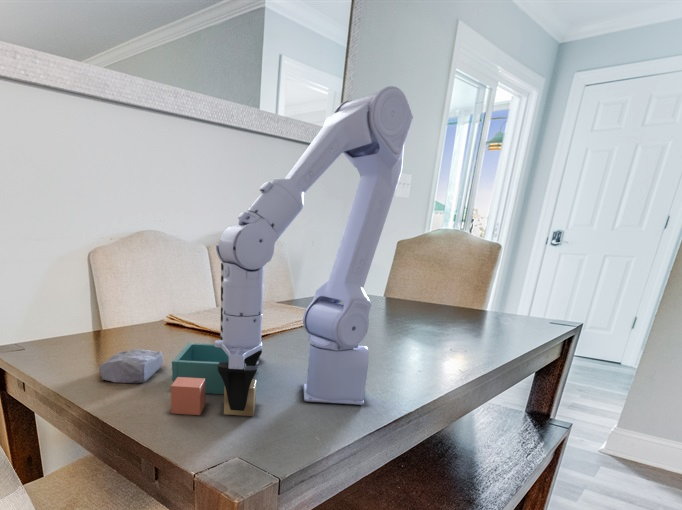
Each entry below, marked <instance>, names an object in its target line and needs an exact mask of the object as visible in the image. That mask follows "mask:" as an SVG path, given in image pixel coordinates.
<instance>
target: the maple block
mask: <svg viewBox="0 0 682 510" xmlns="http://www.w3.org/2000/svg"><path fill="white" fill-rule="evenodd" d="M256 401H257V379H256V378H253V379H252V381H251V384H250V387H249V392H248V398H247V403H246V406H245V409H244V411H238V410H230V407H229V402H228V397H227V392H226V388H225V387H224V394H223V415H230V416H243V417H254V414H255V409H256V403H257V402H256Z"/></svg>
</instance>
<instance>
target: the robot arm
mask: <svg viewBox="0 0 682 510" xmlns="http://www.w3.org/2000/svg"><path fill="white" fill-rule="evenodd" d="M413 119H414V115H413V113H412V109H411V107H410V104H409V101H408V99H407V96H406V95H405V93H404V91H402V89H401V88H399V87H397V86H393V85H391V86H390V85H388V86H385V87H383V88H382V89H379V90H378V91H376V92H373V93H370V94H367V95H364V96H362V97H358V98H354V99H351V100H350V99H349V100H345V101H343V102H341V103H340V104H339V105H338V106H337V107H336V108H335V109H334V111H333V113H330V114H329V116H328V117H326V118H325V119H324V123H323V125H322V127H321V129H320V130H319V131H318V133H317V134H316V136H315V137H314V138H313V140H312V141H311V142H310V143H309V145H308V146H307V148H306V149H305V150H304V152H302V154H301V156H300V157H299V158H298V160H297V161H296V163H295V164H293V167H292V168H291V170H289V172H288V173H287V175H286V176H285V178H281V177H280V178H279V177H276V178H273V179H271V180H270V181H266V182H263V183H262V185H261V186H260V187H259V191H260V194H259V195H258V197H256V199H255V200H254V201H253V203H252V204H251V205H250V206H249V207H248V208H247V210H245V211H241V212H240V213H239V214H238V216H237V219H238V224H233V225H230V226H229V227H227V228H226V229H225V230H224V231H223V232H222V233H221V235H220V237H219V242H218V244H216V245H215V251H216V255H217V257H218V259H219V261H220V263H223V266H224V272H223V340H220V339H216V340H215V341H214V344H215V347H218V348H222V349H223V350H224V352H225V353H226V354H227V355H228V357H229V363H227V362H219V364H218V372H219V374H220V375H221V377H222V379H223V382H224V384H225V388H226V392H227V397H228V402H229V407H230V410H238V411H244V409H245V406H246V403H247V398H248V392H249V387H250V384H251V381H252V379H254V377H255V375H256V373H257V372H258V369H259V366H258V365H257V364H256V363H257V361H258V359H259V357H260V358H261V355H262V353H263V342H262V329H263V306H264V283H265V266H266V265H267V264H268V263H269V262H270V261H272V259H273V257H274V252H275V244H276V242H277V241H278V240H279V238H280V237H281V236H282V235H283V233H285V231H286V230H287V229H288V227H289V226H290V225H291V224H292V223H293V221H294V220H295V219H296V218H297V217H298V215H300V213H301V212H302V211H303V209H304V205H305V204H304V203H305V201H304V200H305V199H304V195H305V194H306V193H307V191H309V189H310V188H311V187H312V186H313V185H314V184H315V183H316V182H317V181H318V179H320V177H321V176H322V175H323V174H324V173H325V172H326V171H327V170H328V169H329V168H330V167H331V165H332V164H334V162H335V161H336V160H337V159H338V158H339V157H340V156H341V154H343V155H344V156H345V158H346V159H347V160H348V161H349V162H350V163H351V165H353V167H354V168H355V169H356V170H357V172H358V174H359V180H358V184H357V187H356V190H355V193H354V196H353V200H352V203H351V206H350V210H349V213H348V216H347V219H346V223H345V226H344V229H343V232H342V236H341V239H340V242H339V245H338V249H337V252H336V254H335V259H334V261H333V265H332V268H331V271H330V274H329V277H328V279H327V281H326V282H324V283H323V284H322V285H321V286H319V287H318V288H317V289H316V291H315V293H314V295H313V299H312V301H311V302H310V303H309V304H308V306H307V307H306V308H305V311H304V312H303V316H302V317H303V318H302V325H303V328H304V331H305V332H306V333H307V334H308V341H309V342H310V343H309V351H308V352H309V353H308V354H309V355H308V363H307V364H308V366H307V378H306V383H303V386H302V387H303V400H304V402H311V403H323V404H324V403H325V404H326V403H327V404H342V405H343V404H344V405H358V406H362V405H364V404H365V401H364V400H365V393H366V392H365V391H366V385H367V378H368V368H369V348H368V346H366V345H360V344H361V343H362V342H363V341H364V339H365V338H366V336H367V333H368V331H369V325H370V322H369V320H370V319H369V316H370V310H371V307H372V302H371V300H370V298H369V297H368V295H367V294H366V291H365V290H364V287H365V284H366V282H367V278H368V275H369V272H370V269H371V266H372V263H373V260H374V257H375V254H376V251H377V247H378V245H379V242H380V238H381V236H382V233H383V230H384V227H385V223H386V220H387V217H388V214H389V211H390V208H391V205H392V202H393V200H394V196H395V193H396V190H397V187H398V183H399V181H400V177H401V175H402V170H403V164H404V163H403V162H404V150H405V148H404V147H405V144H406V141H407V138H408V134H409V133H410V132H409V131H410V129H411V125H412V123H413Z"/></svg>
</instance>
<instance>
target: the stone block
mask: <svg viewBox="0 0 682 510" xmlns="http://www.w3.org/2000/svg"><path fill="white" fill-rule="evenodd" d="M163 362H164V360H163V352H162V351H154V350H148V349H142V348H139V349H138V348H135V349H134V348H133V349H131V350H125V351H119V352H117V353H116V354H114V355H112V356H111V357H109V358H108V359H107V360H106V361H105V362H103V363H101V364H99V366H98V371H99V372H98V373H99V374H100V377H101V379H102V380H104V381H108V382H112V383H125V384H127V383H128V384H129V383H130V384H144V383H145V382H147V381H148V380H149V379H150V378H151V377H153V375H154V374H155V373H156V372H157V371H159V370H160V369H161V367H162V366H163Z"/></svg>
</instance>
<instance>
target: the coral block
mask: <svg viewBox="0 0 682 510" xmlns="http://www.w3.org/2000/svg"><path fill="white" fill-rule="evenodd" d="M205 406H206V393H205V378H188V377H177V378H176V380H175V381H174V382H173V383H171V385H170V407H171V408H170V409H171V414H176V415H190V416H201V414H202V412H203V411H204V408H205Z"/></svg>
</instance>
